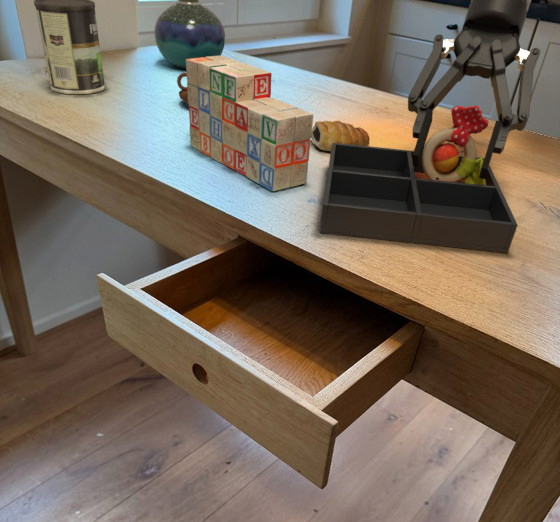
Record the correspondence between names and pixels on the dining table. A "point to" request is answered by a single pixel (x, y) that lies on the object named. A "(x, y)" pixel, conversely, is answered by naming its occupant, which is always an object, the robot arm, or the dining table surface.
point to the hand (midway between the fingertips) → (448, 166)
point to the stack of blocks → (247, 122)
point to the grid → (411, 202)
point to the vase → (188, 33)
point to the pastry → (337, 134)
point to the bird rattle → (447, 155)
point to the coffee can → (71, 45)
